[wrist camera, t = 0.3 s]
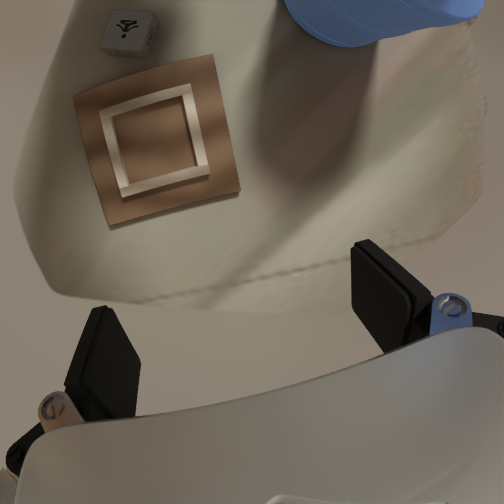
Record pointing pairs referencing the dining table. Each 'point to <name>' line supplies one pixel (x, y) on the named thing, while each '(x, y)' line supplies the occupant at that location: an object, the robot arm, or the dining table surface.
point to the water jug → (376, 18)
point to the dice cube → (129, 33)
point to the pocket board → (158, 139)
